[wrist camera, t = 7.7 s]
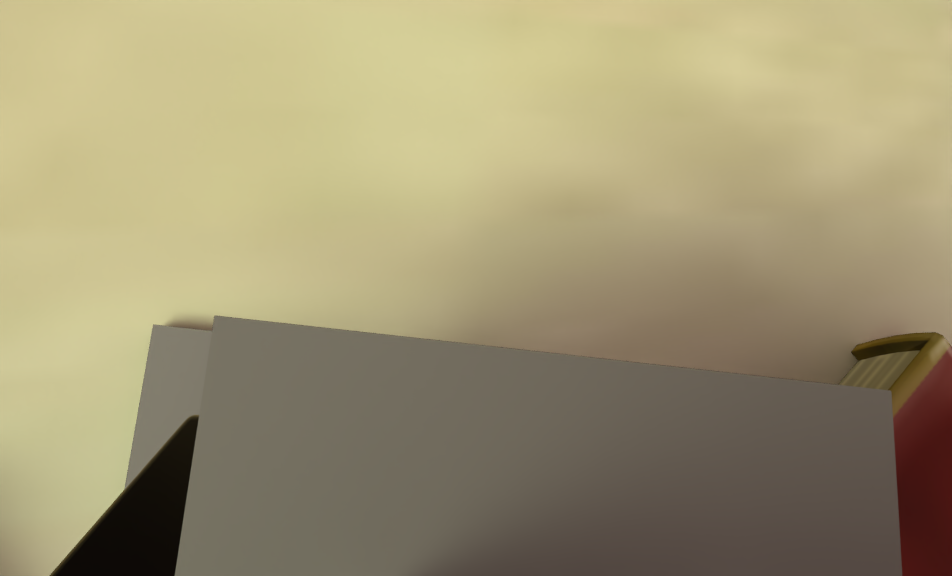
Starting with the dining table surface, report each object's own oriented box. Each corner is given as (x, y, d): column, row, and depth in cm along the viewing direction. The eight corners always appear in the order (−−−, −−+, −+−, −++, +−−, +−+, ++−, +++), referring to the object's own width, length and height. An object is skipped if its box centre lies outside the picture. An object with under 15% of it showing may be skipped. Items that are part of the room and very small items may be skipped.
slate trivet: (520, 368, 22) (529, 365, 21) (497, 745, 19) (506, 757, 19) (158, 329, 19) (153, 324, 18) (83, 756, 17) (75, 770, 16)
